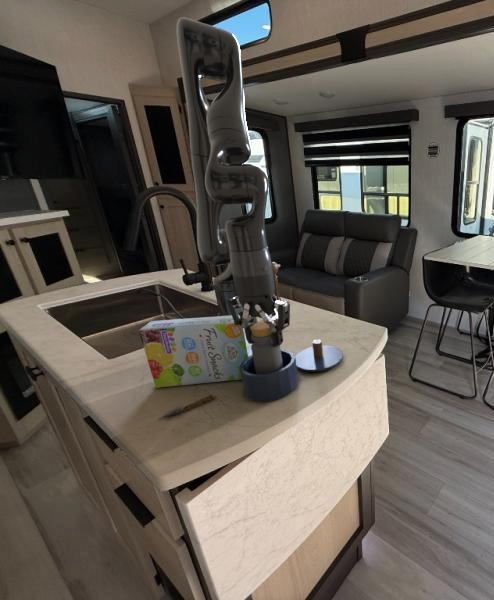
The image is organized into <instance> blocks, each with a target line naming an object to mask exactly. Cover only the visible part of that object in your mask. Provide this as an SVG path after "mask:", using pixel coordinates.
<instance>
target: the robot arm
mask: <svg viewBox="0 0 494 600" xmlns="http://www.w3.org/2000/svg"><path fill="white" fill-rule="evenodd" d="M176 43H177V51H178V58H179V64H180V72H181V78H182V84H183V91H184V96H185V103H186V104H185V105H186V111H187V121H188V137H189V138H188V139H189V149H190V150H189V151H190V160H191V161H190V162H191V170H192V177H193V185H194V193H195V194H194V195H195V204H196V205H195V207H196V245H197V251H198V254H199V257H200V259H201V261H202V262H203V263H204V264H205V265H206V266H209V267H217V266H221V265H226V264H227V266H226V267H225V269H224V270H223V271H222V272H221V273H219V274H218V275H216V276H215V277H214V278H213V280H212V286H213V290H214V294H215V299H216V304H217V308H218V313H217V315H216V317H217V316H231V315H232V317H233V320H234V323H235V325H241V326H242V328H244V330H245V335H246V339H247V341H248V343H249V344H253V343H254V342H255V341H253V340H252V338H251V334H252V330H251V326H252V325H253V324H255V323H258V318H259V319H261V320H262V322H263V321H264V322H265V323H266V324H268V326H269V327H270V329H271V331H272V332H271V335H272V341H273V347H278V346H280V347H281V345H282V344H283V343H284V336H283V335H284V334H283V331H284V330H285V329H286V328H288V327H289V326H290V324H291V302H290V301H289V300H285V301H282V300H281V301H280V300H279V301H277V298H276V297H275V293H274V292H276V290H275V282H274V275H273V269H272V262H273V261H272V257H271V254H270V250H269V245H268V237H267V231H266V209H267V202H268V197H269V196H268V195H269V189H270V188H269V187H270V182H269V178H268V174H267V173H266V172H265V170H264V168H262V166H260V165H258V164H254V163H248V162H249V161H250V160H251V158H252V145H251V140H250V136H249V132H248V126H247V121H246V112H245V111H246V110H245V88H244V87H245V85H244V73H243V61H242V60H243V59H242V54H241V49H240V44H239V42H238V39H237V37H236V36H235V35H234V34H233V33H232V32H230V31H228V30H226V29H223V28H220V27H217V26H214V25H211V24H208V23H203V22H201V21H198V20H195V19H192V18H190V17H189V18H188V17H184V16H181V17H179V18H178V20H177V22H176ZM201 78H204V79H208V80H211V81H216V82H220V83H221V82H222V83H225V85H224V87H223V88H222V90H221V91H220V92H219V93H218V95H216V97H215V98H214V99H213V100H212V102H210V103H209V101H208V99H207V97H206V95H205V93H204V89H203V87H202V84H201ZM248 204H249V205H251V207H250V210H249V211H248V212H247V213H245V214H243V215H239V216H236V217H235V216H234V217H231V218H229V219H227V220H226V221H225V223H224V227H223V228H222V227H221V228H220V227H219V226H220V225H219V224H220V216H221V213H222V209H223V208H224V206H225V205H248ZM142 291H143V292H148V293H151V294H154V295H156V296H158V297H160V298H162V299H163V300H164V301H165V302H166V303H167V304H168V306H169V307H170V309H171V310H172V311H173V312H174V313H175V314H176V315H177V316H178V317H179V319H187V318H186V317H185V316H183V315H181V313H179V311H177V310H176V308H175V307H174V305H172V303H171V302H170V300H168V298H166V297H165V296H164V295H162V294H161V293H159V292H157V291H153V290H150V289H147V288H139V289H138V290H137V293H140V292H142ZM275 307H276V309H277V310H276V309H275ZM238 315H239V316H240V318H239V316H238ZM269 316H270V317H269Z"/></svg>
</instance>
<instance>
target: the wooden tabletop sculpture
mask: <svg viewBox="0 0 494 600" xmlns="http://www.w3.org/2000/svg"><path fill="white" fill-rule="evenodd" d="M271 262H272V269H273V275H274V282H275V292H274V295H275V297H276V299H277V301H281V302H282V299H281V294H280V287H279V281H278V275H276V274H277V273H278V272H279V268H280V267H281V264H280V263H279V264H278V263H277V262H276V261H271ZM275 309H276V310H277V308H276V307H275Z"/></svg>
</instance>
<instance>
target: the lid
mask: <svg viewBox="0 0 494 600" xmlns="http://www.w3.org/2000/svg"><path fill="white" fill-rule="evenodd" d="M294 356H295V359H296V367H297V370H300V371H302V372H303V371H304V372H308V373H316V372H324V371H327V370H330V369H333V368H335V367H336V366H338V365H339V364H340V363H341V362H342V361H343V358H344V353H343V352H342V350H341V349H340V348H339V347H336V346H333V345H323V341H322V340H321V339H314V340H312V346H311V347H308V348H305V349H303V350H301V351H299V352H298V353H296V354H295V355H294Z"/></svg>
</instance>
